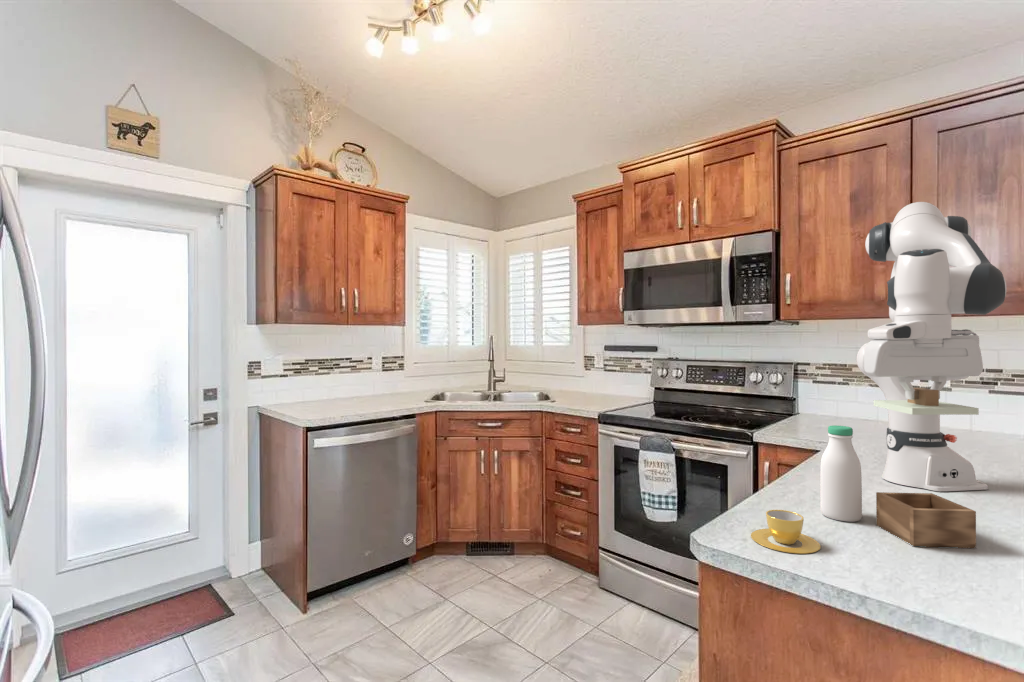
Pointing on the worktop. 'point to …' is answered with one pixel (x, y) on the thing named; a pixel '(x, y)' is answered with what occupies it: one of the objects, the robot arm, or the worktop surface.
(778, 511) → the cup
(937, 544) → the box
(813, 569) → the worktop surface
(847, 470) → the milk bottle
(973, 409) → the lid
